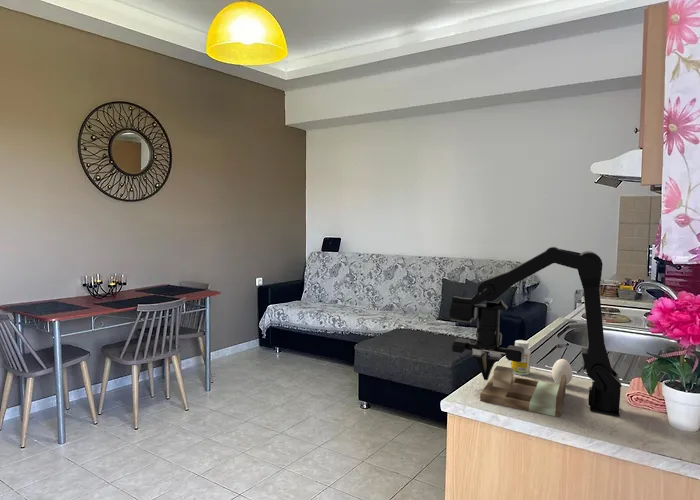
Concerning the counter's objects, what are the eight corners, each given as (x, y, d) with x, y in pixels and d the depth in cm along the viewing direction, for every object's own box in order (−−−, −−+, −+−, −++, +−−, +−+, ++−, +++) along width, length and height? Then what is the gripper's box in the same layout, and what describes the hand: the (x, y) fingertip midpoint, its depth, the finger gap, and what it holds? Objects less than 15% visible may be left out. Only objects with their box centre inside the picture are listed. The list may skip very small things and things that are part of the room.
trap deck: (565, 392, 130) (566, 375, 130) (559, 417, 114) (560, 397, 114) (494, 379, 139) (495, 363, 139) (480, 400, 123) (480, 381, 123)
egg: (572, 384, 137) (573, 358, 136) (570, 390, 132) (572, 363, 132) (552, 380, 140) (553, 355, 139) (550, 386, 135) (551, 359, 134)
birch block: (513, 384, 130) (513, 368, 130) (510, 389, 126) (511, 373, 126) (496, 381, 132) (497, 365, 132) (492, 386, 128) (493, 370, 128)
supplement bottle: (518, 368, 150) (520, 338, 149) (533, 373, 145) (535, 342, 144) (507, 371, 147) (508, 340, 146) (521, 376, 142) (523, 344, 142)
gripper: (528, 322, 133) (525, 377, 134) (462, 314, 141) (460, 366, 143) (522, 331, 123) (519, 389, 124) (451, 322, 132) (449, 377, 133)
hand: (485, 379), depth 131 cm, fingers closed
